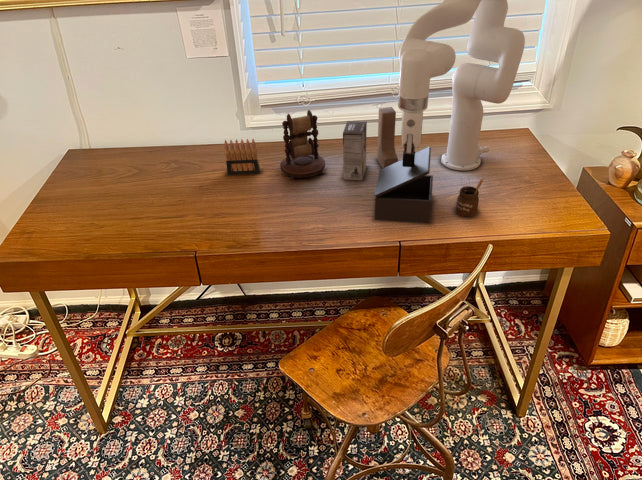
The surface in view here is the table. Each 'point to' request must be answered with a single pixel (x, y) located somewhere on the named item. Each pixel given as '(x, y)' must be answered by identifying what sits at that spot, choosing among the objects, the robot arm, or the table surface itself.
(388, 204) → the black box
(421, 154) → the lid
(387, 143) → the wooden block
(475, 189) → the utensil holder
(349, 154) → the coffee box
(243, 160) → the ammunition clip
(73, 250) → the table surface
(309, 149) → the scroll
